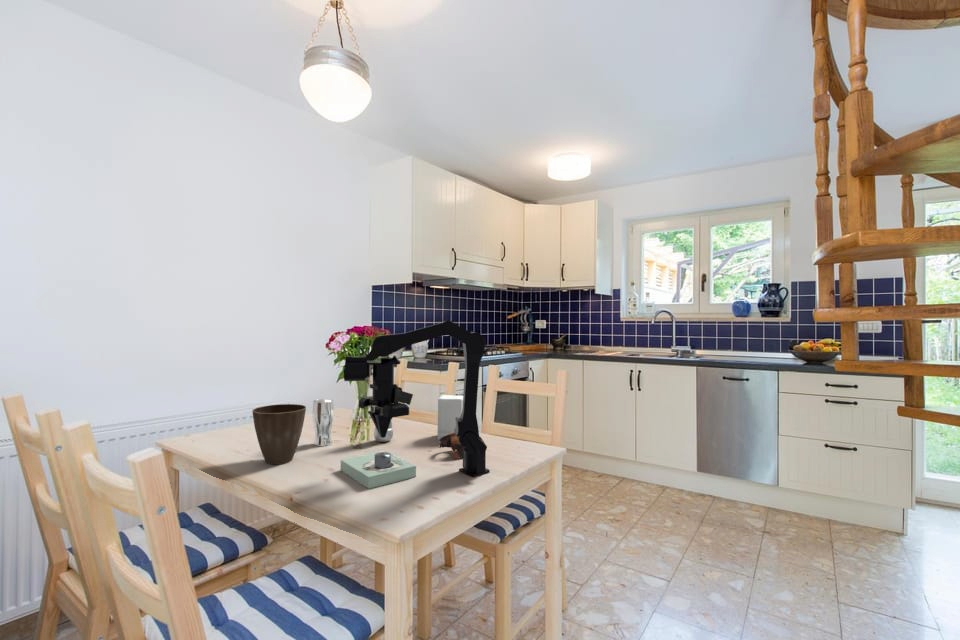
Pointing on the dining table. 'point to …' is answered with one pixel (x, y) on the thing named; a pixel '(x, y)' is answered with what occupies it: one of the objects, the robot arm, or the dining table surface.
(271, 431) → the plant pot
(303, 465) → the dining table surface
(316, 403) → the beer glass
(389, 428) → the plastic bottle
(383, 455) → the dark metal cylinder
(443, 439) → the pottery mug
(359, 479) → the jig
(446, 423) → the supplement box
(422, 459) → the dining table surface
